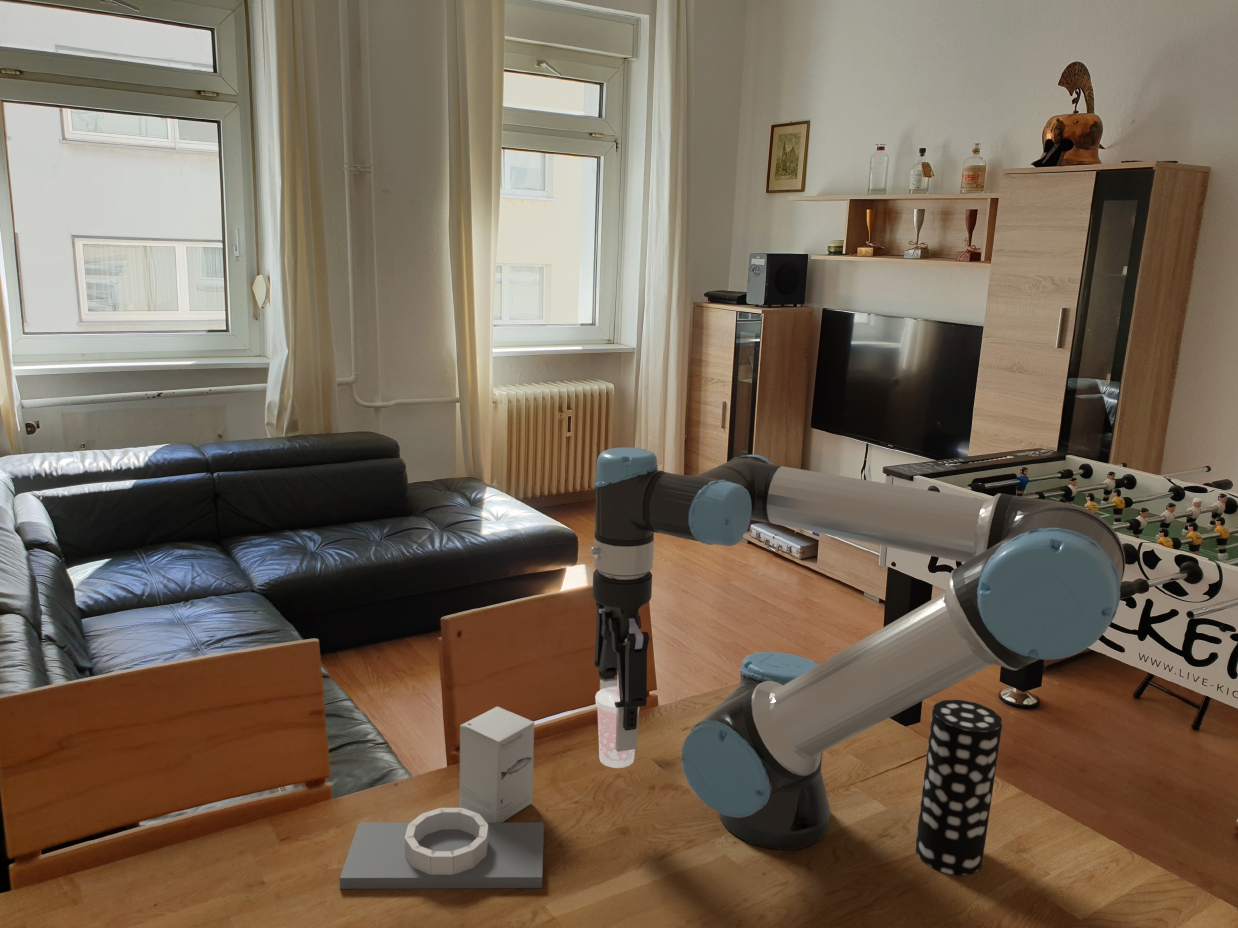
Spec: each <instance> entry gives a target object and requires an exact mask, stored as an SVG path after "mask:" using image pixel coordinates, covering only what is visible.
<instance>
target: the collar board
mask: <svg viewBox="0 0 1238 928" xmlns="http://www.w3.org/2000/svg"><path fill="white" fill-rule="evenodd" d="M544 831H545V822H543V821H542V822H536V821H535V822H524V821H523V822H505V821H504V822H486V821H485V820H484V819H483V818H482V817H481V815H480V814H478V813H475V812H473V811H470V810H467V809H464V808H461V807H438V808H436V809H432V810H429V811H427V812H423V813H421V814H419V815H418V816H417V817H415V819H413V820H412V821H411V822H358V824H357V826H356V829H355V832H354V836H353V838H352V841H351V844H350V847H349V850H348V853H347V856H346V858H345V861H344V863H343V866H342V870H341V872H340V875H339V890H384V889H385V890H391V889H393V890H394V889H396V890H398V889H401V890H402V889H403V890H404V889H405V890H407V889H408V890H409V889H413V890H414V889H415V890H416V889H420V890H421V889H423V890H424V889H543V872H544V871H543V869H544V868H543V866H544V864H543V863H544V835H545V834H544V833H545V832H544Z"/></svg>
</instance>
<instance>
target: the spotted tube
mask: <svg viewBox="0 0 1238 928" xmlns="http://www.w3.org/2000/svg"><path fill="white" fill-rule="evenodd" d="M1003 723H1004V722H1003V719H1002V717H1001V716H1000V715H999V714H998V713H997V712H996V711H995V710H993V709H992V708H989V707H987V706H985V705H982V704H980V703H977V702H973V701H970V700H963V699H946V700H941V701H938V702H936V703H935V704H934V705H933V707H932V712H931V719H930V729H929V735H928V743H927V751H926V752H927V753H926V757H925V759H926V760H925V768H924V773H923V774H924V775H923V784H922V790H921V791H922V793H921V799H920V805H919V806H920V807H919V815H918V823H917V832H916V839H915V847H914V849H915V852H916V854H917V856H918V858H919V859H920V860H921V861H922V862H924V863H925V864H926V865H927V866H929V867H930V868H932V869H934V870H937V871H939V872H941V873H944V874H948V875H955V876H969V875H973V874H975V873H976V872H979V870H981V868H982V867H983V861H984V854H985V846H986V838H987V833H988V825H989V820H990V819H989V818H990V811H991V805H992V798H993V791H994V790H993V789H994V785H995V777H996V771H997V765H998V764H997V763H998V755H999V750H1000V744H1001V743H1000V742H1001V734H1002V729H1003V728H1002V727H1003Z"/></svg>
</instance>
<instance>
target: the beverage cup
mask: <svg viewBox="0 0 1238 928" xmlns="http://www.w3.org/2000/svg"><path fill="white" fill-rule="evenodd" d="M616 678H617V686H615V687H607V688H604V689H601V690H600V689H599V690H598V691H597V692H596V693H595V696H594V698H595V699H594V700H595V704H596V707H597V727H598V728H597V730H598V731H597V732H598V752H599V753H598V755H599V761H600V763H601V764H602V765H604V766H606V767H609V768H613V769H623V768H626V767H629V766H631V765H632V764H633V763H634V760H635V753H636V749H633V750H627V751H620V752H617V751H616V749H615V747H616V715H617V708H616V707H615V703H614V702H620V694H619V680H618V676H616ZM639 712H640V710H639V711H638V716H639V714H640V713H639Z"/></svg>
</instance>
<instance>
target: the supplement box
mask: <svg viewBox="0 0 1238 928" xmlns="http://www.w3.org/2000/svg"><path fill="white" fill-rule="evenodd" d="M534 742H535V721H533V720H531V719H529V718H526V717H523V716H521V715H518V714H516V713H514V712H512V711H509V710H506V709H504V708H502V707H500V706H495V707H493V708H491V709H489V710H488V711H485V712H483V713H482V714H479V715H477V716H476V717H473V718H471V719H470V720H468V721H465V722H464V723H461V724H460V725H459V808H464V809H467V810H470V811H473V812H475V813H478V814H480V815H481V817H482V818H483V819H484V820H485V821H486V822H505V821H506V820H508V819H510V818H511V817H512V816H514V815H516V814H517V813H519V812H520V811H522V810H523V809H525V808H527V807H528V806H530V805H532V804H533V789H534V788H533V787H534V785H533V784H534V753H535V752H534V749H535V746H534V744H535V743H534Z"/></svg>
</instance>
